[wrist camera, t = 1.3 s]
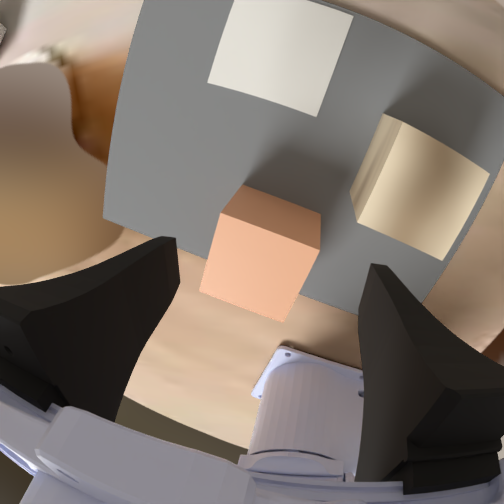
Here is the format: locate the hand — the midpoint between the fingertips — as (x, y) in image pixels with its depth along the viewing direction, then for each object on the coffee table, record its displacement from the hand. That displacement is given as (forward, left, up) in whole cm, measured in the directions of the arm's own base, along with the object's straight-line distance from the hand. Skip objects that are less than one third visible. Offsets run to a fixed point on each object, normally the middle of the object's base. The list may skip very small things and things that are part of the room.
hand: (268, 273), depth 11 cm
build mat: (0, -3, -9) cm, 9 cm away
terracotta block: (0, +3, -8) cm, 9 cm away
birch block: (-6, -4, -8) cm, 11 cm away
